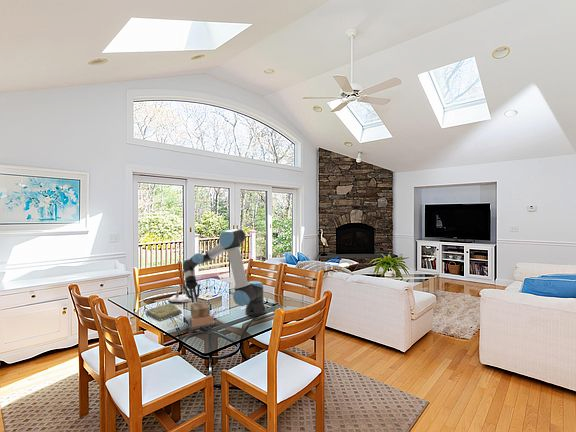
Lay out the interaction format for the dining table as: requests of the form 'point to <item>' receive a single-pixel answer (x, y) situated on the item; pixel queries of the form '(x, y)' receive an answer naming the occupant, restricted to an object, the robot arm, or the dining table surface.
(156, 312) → the decorative tile
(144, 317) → the dining table surface
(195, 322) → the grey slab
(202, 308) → the oak block
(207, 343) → the dining table surface
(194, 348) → the dining table surface
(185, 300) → the figurine
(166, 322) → the dining table surface
